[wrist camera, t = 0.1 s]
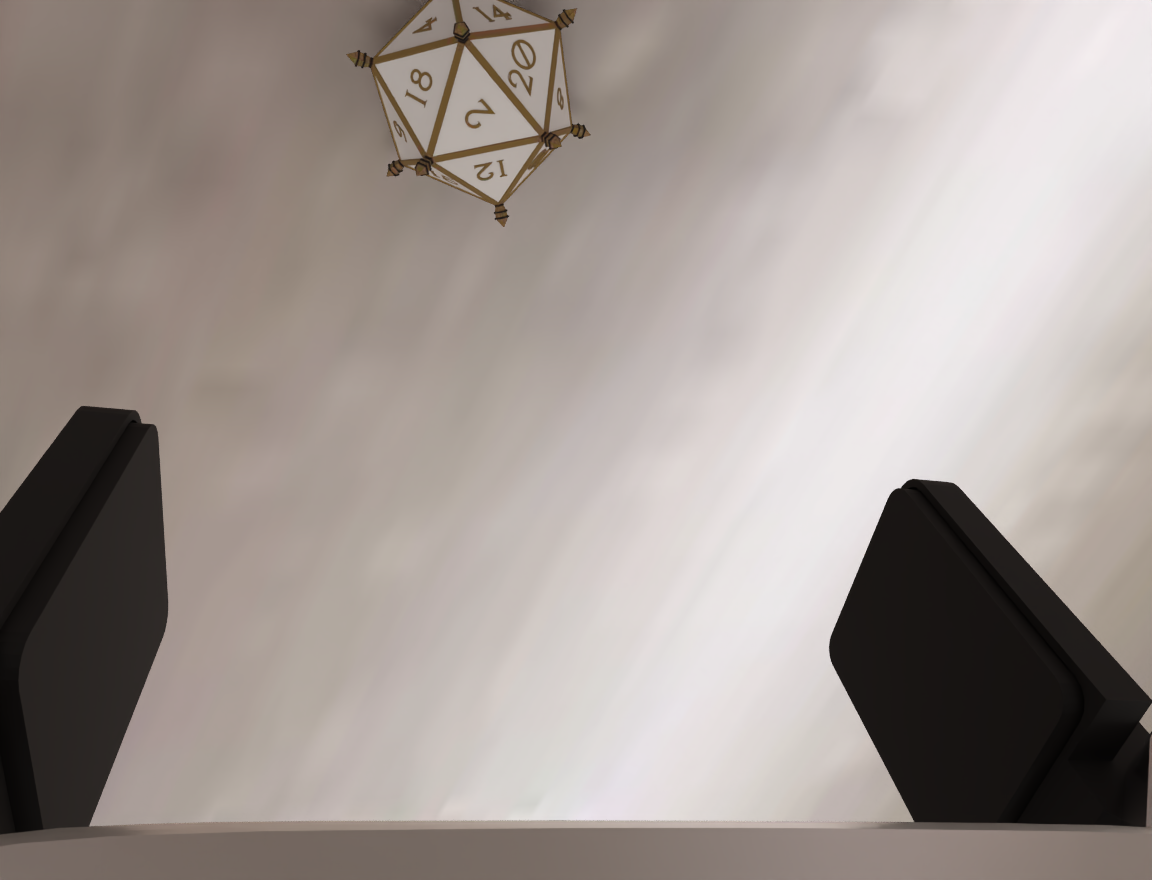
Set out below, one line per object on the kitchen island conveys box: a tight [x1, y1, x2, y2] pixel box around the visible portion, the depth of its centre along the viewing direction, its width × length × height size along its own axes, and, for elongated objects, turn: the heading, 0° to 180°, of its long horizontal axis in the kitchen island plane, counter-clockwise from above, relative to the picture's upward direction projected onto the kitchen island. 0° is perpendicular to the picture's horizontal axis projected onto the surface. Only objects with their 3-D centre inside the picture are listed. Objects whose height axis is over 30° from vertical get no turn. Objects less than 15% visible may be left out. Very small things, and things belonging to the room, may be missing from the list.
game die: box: [346, 0, 590, 227], centre depth 34 cm, size 9×8×10 cm
